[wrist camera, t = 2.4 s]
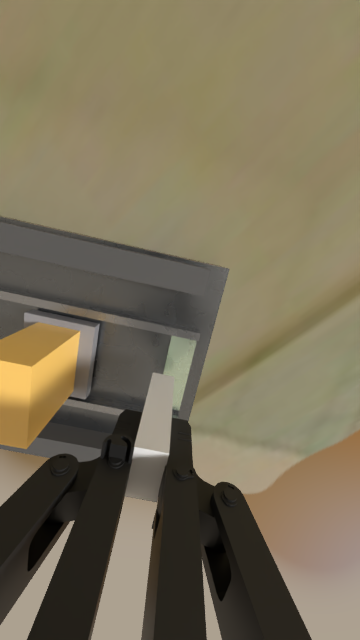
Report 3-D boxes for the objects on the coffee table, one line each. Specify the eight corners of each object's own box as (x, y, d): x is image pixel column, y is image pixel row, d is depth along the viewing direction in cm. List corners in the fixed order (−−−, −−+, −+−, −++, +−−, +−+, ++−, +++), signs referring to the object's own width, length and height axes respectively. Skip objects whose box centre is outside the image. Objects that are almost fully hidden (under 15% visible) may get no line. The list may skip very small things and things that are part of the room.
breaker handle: (33, 309, 18) (-53, 340, 11) (99, 323, 18) (53, 361, 12) (28, 380, 19) (-49, 442, 13) (90, 392, 20) (44, 459, 13)
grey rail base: (-35, 208, 20) (-103, 193, 15) (220, 266, 21) (232, 269, 16) (-32, 393, 25) (-84, 427, 20) (177, 434, 26) (175, 475, 21)
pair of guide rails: (-63, 206, 16) (-93, 200, 15) (208, 268, 17) (210, 269, 15) (-54, 419, 21) (-76, 435, 19) (160, 460, 22) (158, 478, 20)
